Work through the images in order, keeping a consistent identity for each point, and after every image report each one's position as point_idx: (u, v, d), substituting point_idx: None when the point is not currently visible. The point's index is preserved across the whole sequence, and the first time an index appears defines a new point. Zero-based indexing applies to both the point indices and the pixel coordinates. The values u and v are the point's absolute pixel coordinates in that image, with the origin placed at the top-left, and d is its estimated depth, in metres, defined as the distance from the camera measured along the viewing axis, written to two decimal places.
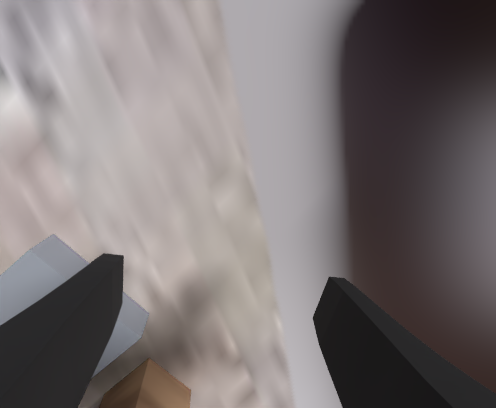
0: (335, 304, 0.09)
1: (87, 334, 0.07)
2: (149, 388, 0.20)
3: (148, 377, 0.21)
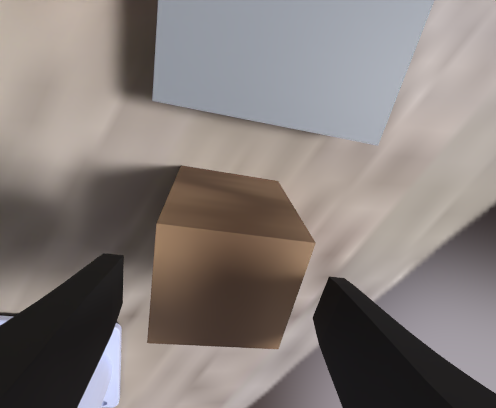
0: (335, 304, 0.09)
1: (88, 334, 0.07)
2: None
3: None
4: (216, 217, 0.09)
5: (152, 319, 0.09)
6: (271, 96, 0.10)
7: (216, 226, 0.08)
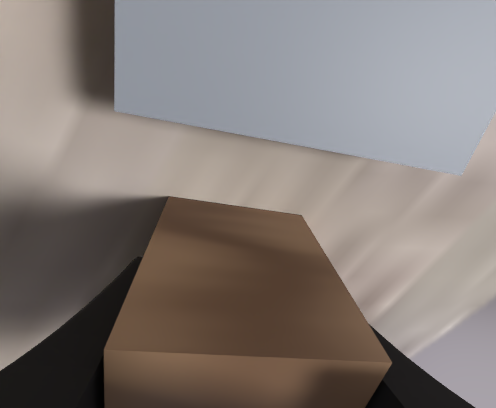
0: None
1: None
2: None
3: None
4: (217, 314, 0.05)
5: None
6: (306, 102, 0.06)
7: (217, 340, 0.05)
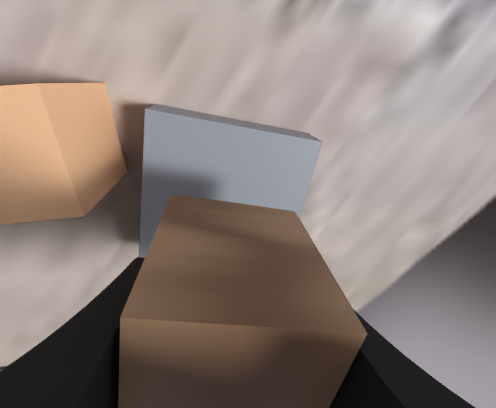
0: None
1: None
2: None
3: None
4: (216, 292, 0.06)
5: None
6: None
7: (215, 312, 0.05)
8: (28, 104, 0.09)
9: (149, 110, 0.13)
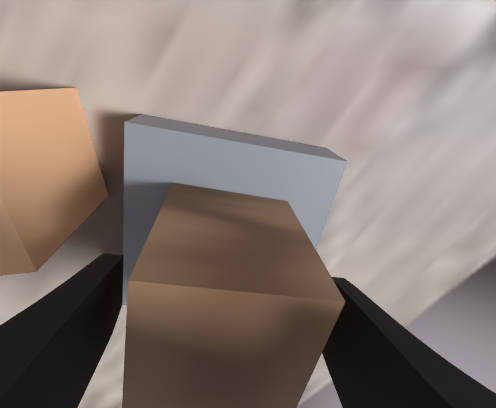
0: None
1: (88, 334, 0.07)
2: None
3: None
4: (212, 264, 0.07)
5: (127, 393, 0.07)
6: None
7: (211, 280, 0.06)
8: None
9: (130, 124, 0.10)
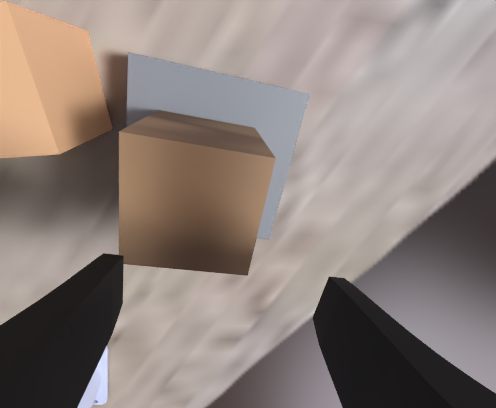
0: (335, 304, 0.09)
1: (88, 334, 0.07)
2: None
3: None
4: (180, 136, 0.09)
5: (122, 237, 0.10)
6: None
7: (178, 139, 0.09)
8: None
9: (132, 54, 0.13)
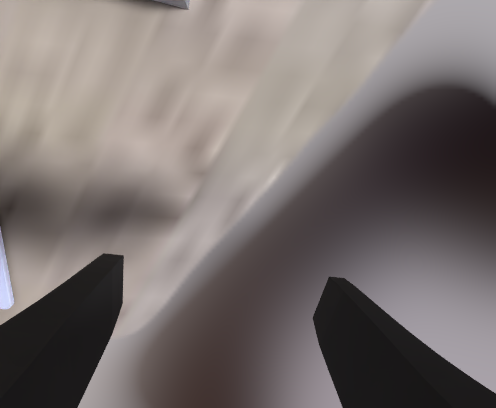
0: (335, 304, 0.09)
1: (88, 334, 0.07)
2: None
3: None
4: None
5: None
6: None
7: None
8: None
9: None
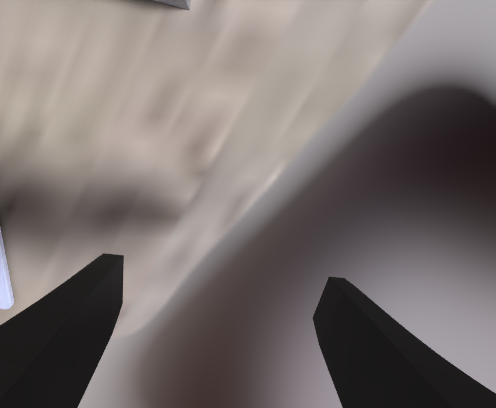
0: (335, 304, 0.09)
1: (88, 334, 0.07)
2: None
3: None
4: None
5: None
6: None
7: None
8: None
9: None
